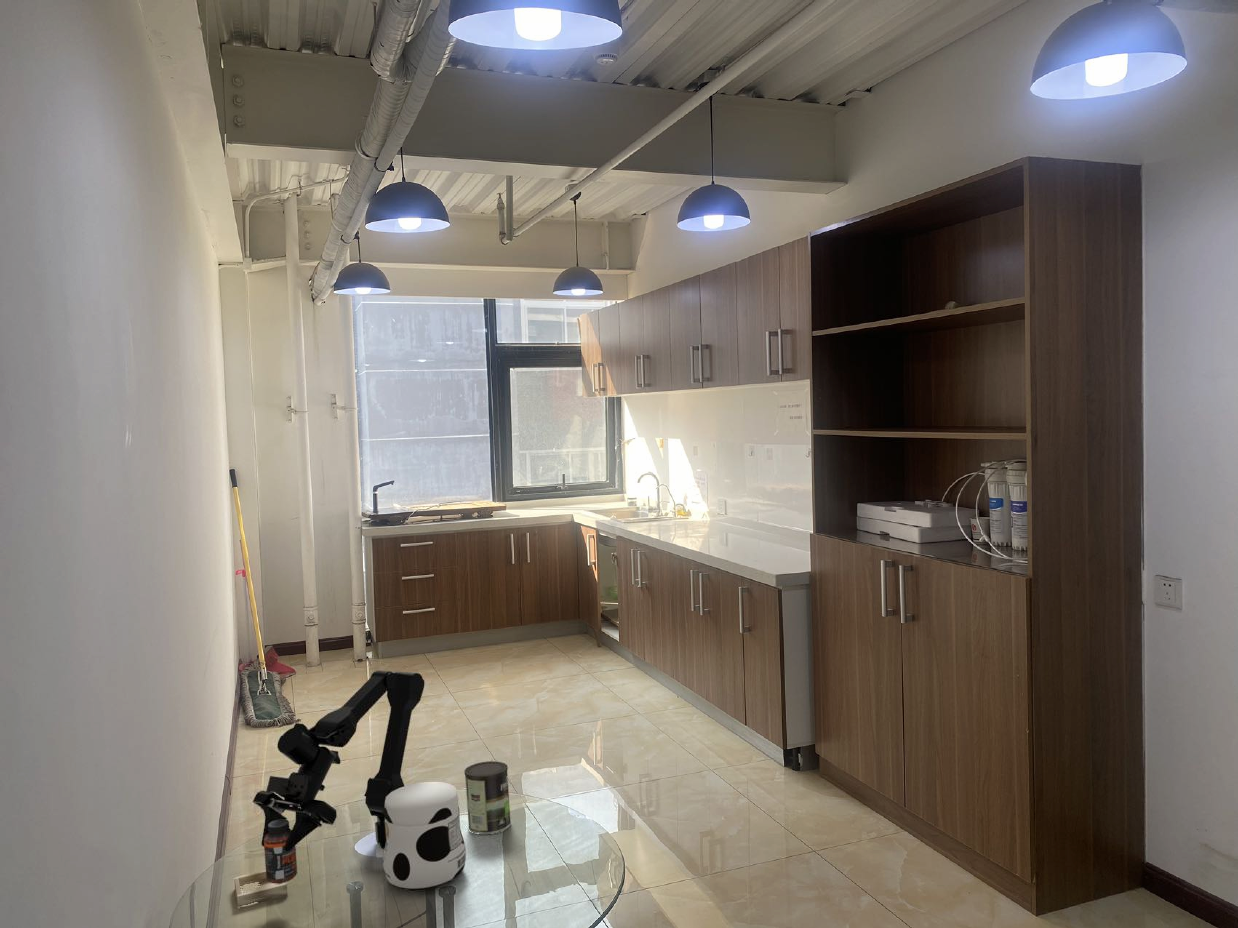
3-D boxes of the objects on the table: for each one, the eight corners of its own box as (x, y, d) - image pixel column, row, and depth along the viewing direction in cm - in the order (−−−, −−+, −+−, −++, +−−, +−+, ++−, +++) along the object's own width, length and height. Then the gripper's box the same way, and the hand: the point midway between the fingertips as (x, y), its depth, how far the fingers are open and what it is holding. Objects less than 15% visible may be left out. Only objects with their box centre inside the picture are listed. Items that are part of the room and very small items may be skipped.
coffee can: (513, 816, 228) (510, 759, 227) (508, 834, 217) (504, 775, 217) (471, 818, 228) (468, 761, 227) (464, 836, 217) (460, 777, 217)
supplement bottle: (287, 885, 184) (283, 829, 184) (260, 884, 185) (256, 828, 185) (303, 871, 190) (299, 817, 190) (277, 870, 191) (273, 816, 191)
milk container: (378, 871, 202) (373, 789, 202) (456, 852, 209) (451, 774, 208) (392, 906, 186) (386, 818, 186) (476, 885, 193) (470, 800, 193)
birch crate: (282, 877, 202) (281, 866, 202) (287, 895, 193) (286, 884, 193) (235, 889, 197) (234, 877, 197) (238, 908, 189) (237, 896, 189)
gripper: (256, 752, 195) (216, 825, 185) (322, 762, 186) (284, 839, 177) (287, 776, 202) (251, 847, 192) (352, 786, 193) (317, 861, 184)
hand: (274, 848), depth 186 cm, fingers closed on supplement bottle, 6 cm apart
